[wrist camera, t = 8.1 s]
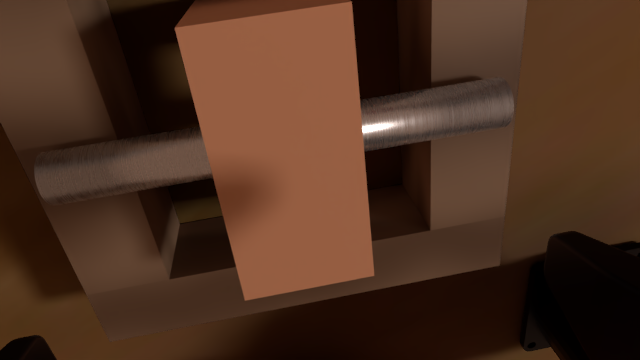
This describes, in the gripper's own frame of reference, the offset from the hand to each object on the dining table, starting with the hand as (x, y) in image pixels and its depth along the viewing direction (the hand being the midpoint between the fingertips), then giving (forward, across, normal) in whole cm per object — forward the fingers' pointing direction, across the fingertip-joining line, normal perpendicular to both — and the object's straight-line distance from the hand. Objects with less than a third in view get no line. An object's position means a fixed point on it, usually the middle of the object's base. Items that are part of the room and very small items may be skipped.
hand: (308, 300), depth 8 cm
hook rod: (+8, 0, 0) cm, 8 cm away
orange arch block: (+10, 0, 0) cm, 10 cm away
